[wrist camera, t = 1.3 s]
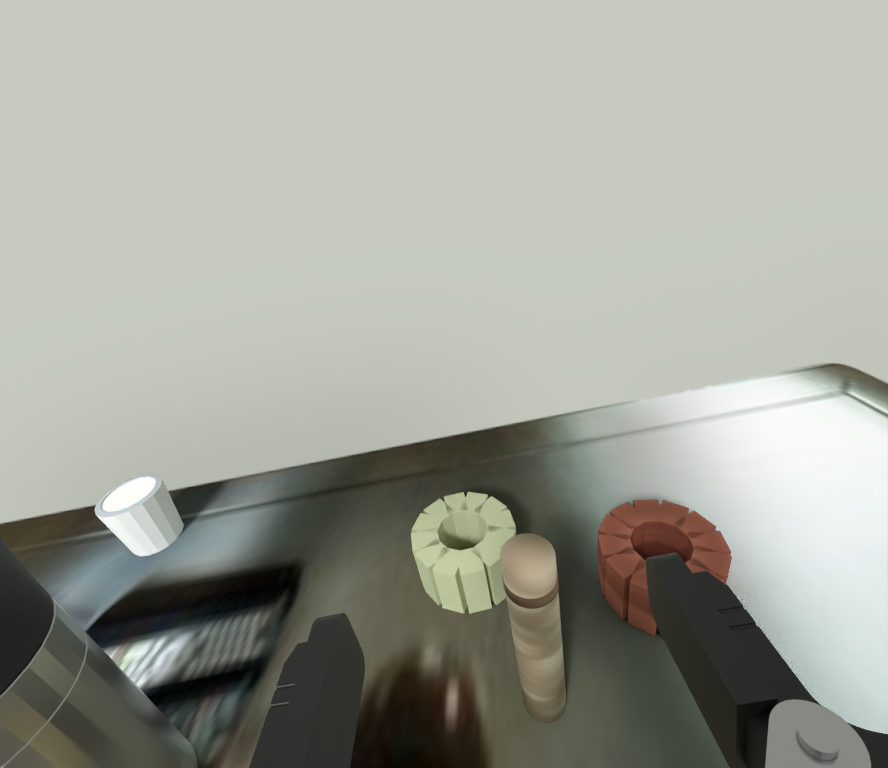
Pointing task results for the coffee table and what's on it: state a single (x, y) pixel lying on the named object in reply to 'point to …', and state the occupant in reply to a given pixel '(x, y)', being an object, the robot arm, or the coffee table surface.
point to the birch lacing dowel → (535, 623)
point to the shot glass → (141, 514)
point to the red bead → (653, 553)
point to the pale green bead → (462, 571)
